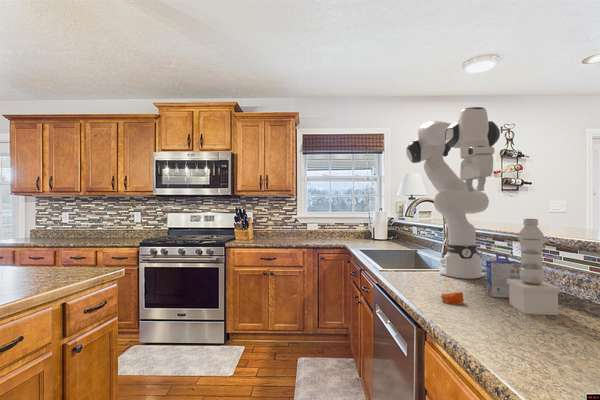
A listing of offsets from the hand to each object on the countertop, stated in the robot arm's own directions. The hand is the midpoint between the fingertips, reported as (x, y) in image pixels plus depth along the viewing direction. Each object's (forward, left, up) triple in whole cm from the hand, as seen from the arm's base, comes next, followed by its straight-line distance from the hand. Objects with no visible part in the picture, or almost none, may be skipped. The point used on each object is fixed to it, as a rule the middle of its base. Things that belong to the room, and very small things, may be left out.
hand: (475, 191), depth 110 cm
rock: (+6, -10, -38) cm, 40 cm away
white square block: (+11, +12, -37) cm, 40 cm away
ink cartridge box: (-3, +10, -37) cm, 39 cm away
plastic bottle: (+11, +12, -29) cm, 33 cm away
